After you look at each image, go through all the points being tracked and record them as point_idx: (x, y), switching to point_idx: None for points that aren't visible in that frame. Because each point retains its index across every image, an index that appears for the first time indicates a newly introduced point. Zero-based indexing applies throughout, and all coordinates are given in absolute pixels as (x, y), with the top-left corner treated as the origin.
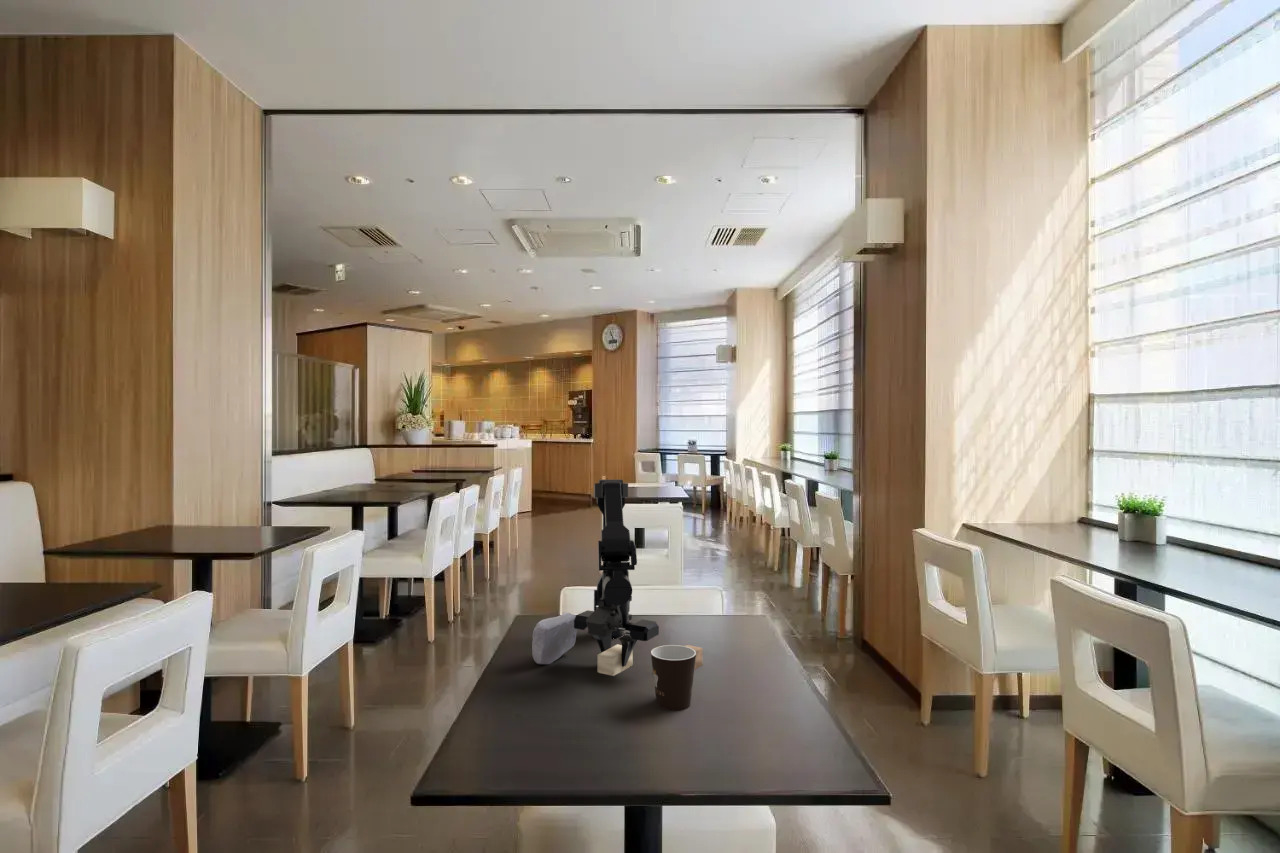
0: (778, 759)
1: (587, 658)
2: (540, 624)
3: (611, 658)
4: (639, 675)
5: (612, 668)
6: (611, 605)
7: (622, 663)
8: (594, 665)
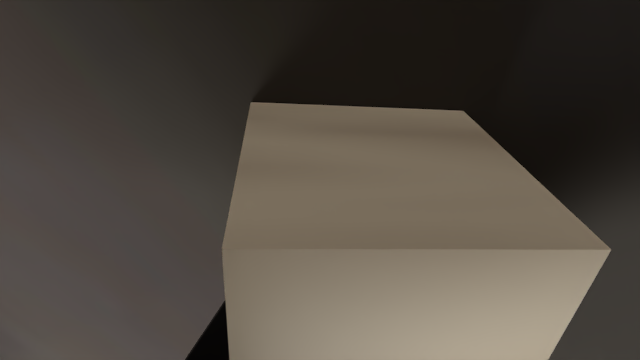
0: None
1: (636, 333)
2: None
3: (274, 238)
4: (48, 251)
5: (259, 146)
6: None
7: None
8: None
